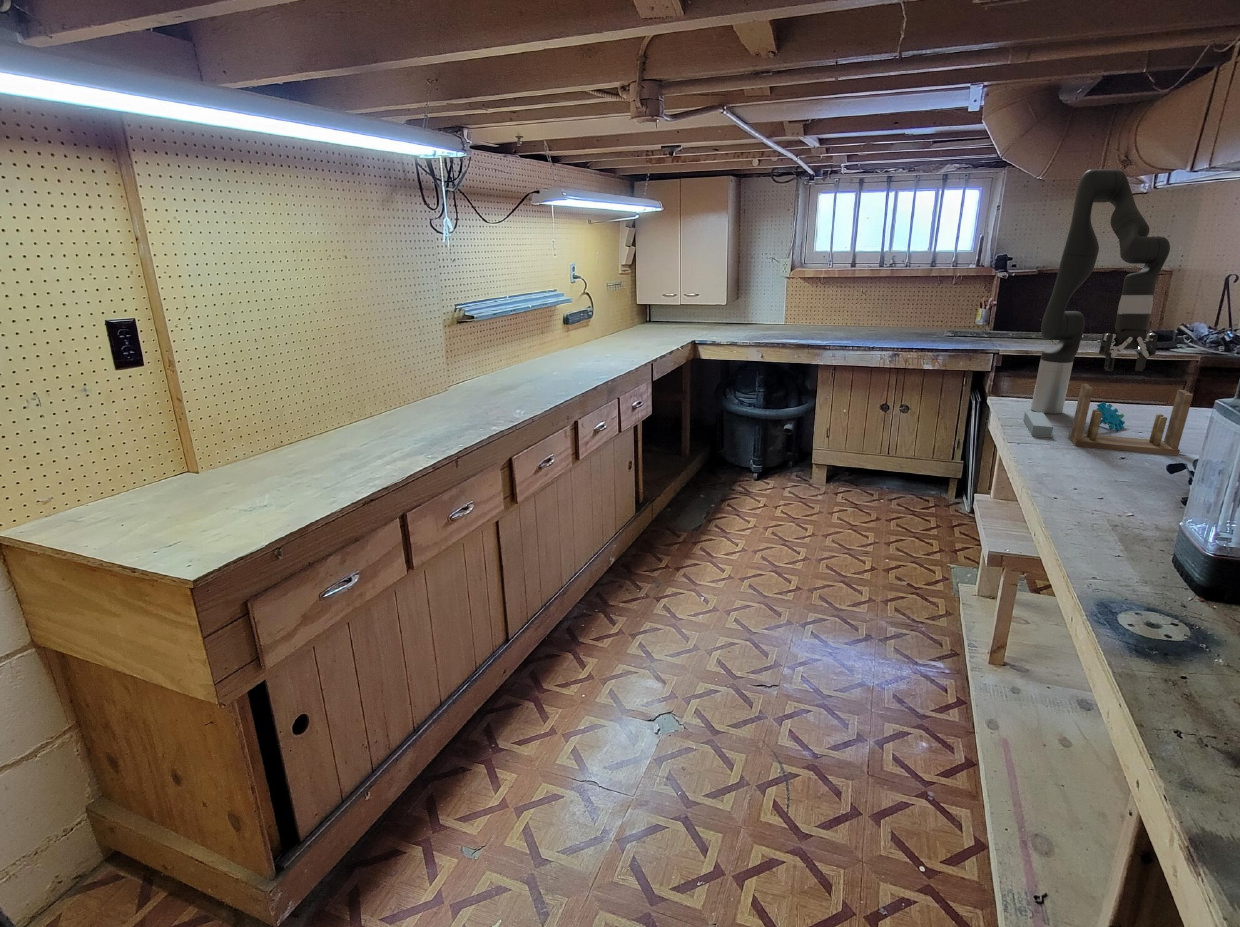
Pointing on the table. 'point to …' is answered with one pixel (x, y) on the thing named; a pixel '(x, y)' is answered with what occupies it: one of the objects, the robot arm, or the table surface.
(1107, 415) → the gear
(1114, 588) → the table surface
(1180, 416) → the stand
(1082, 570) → the table surface
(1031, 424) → the grey rectangular block
